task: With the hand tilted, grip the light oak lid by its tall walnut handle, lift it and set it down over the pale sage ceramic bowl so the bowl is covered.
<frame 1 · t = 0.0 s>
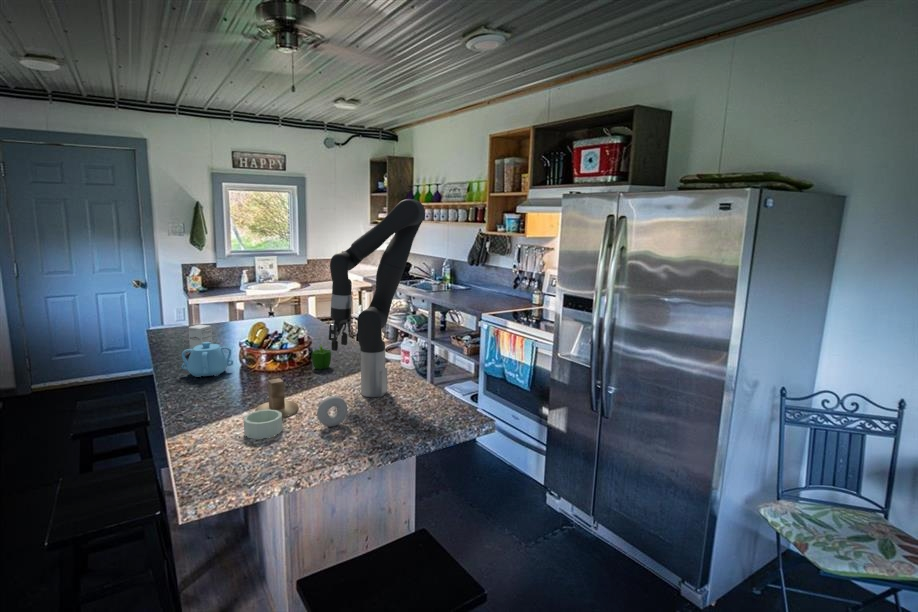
hand: (339, 347, 192), 17 cm above the kitchen island, tool pointing down, fingers open, 8 cm apart
donut: (332, 426, 163), on the kitchen island
decorative pot: (208, 374, 212), on the kitchen island
bell pepper: (322, 368, 222), on the kitchen island
bowl: (263, 431, 158), on the kitchen island
supplement box: (201, 352, 243), on the kitchen island
lid: (277, 411, 174), on the kitchen island
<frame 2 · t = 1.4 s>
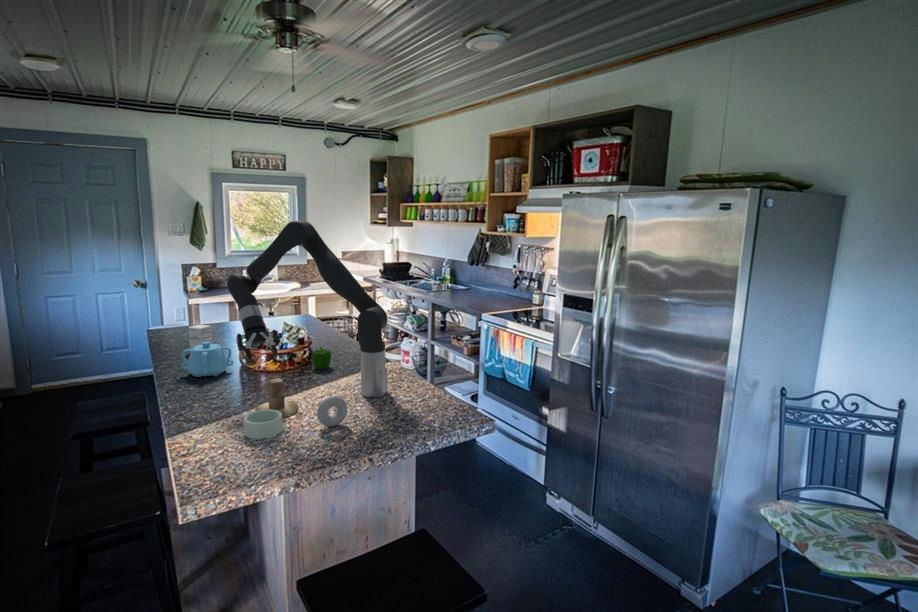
hand: (263, 357, 181), 16 cm above the kitchen island, tool tilted 45°, fingers open, 8 cm apart
nothing on the kitchen island moved.
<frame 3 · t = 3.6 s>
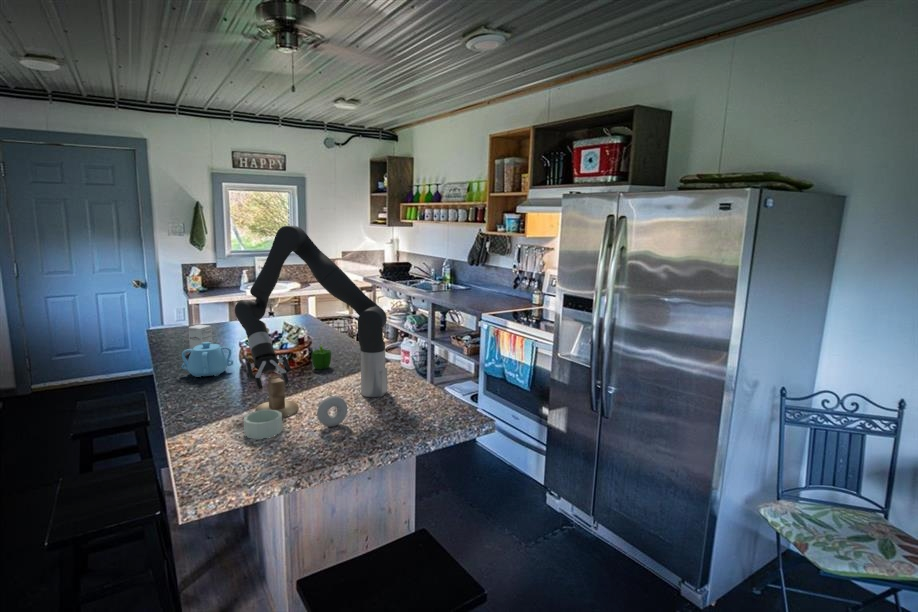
hand: (273, 386, 175), 8 cm above the kitchen island, tool tilted 45°, fingers open, 8 cm apart
nothing on the kitchen island moved.
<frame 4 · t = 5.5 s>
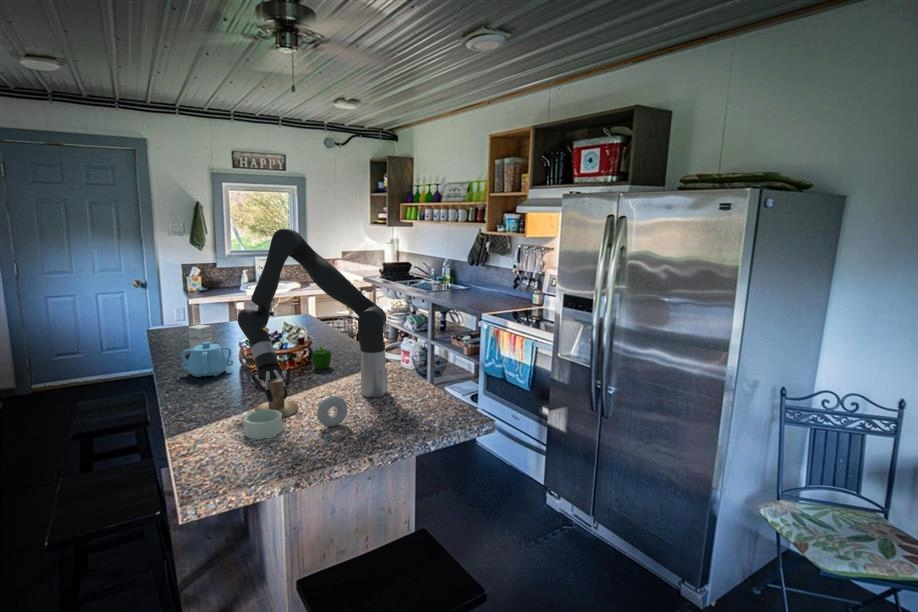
hand: (278, 399, 172), 5 cm above the kitchen island, tool tilted 45°, fingers closed on lid, 4 cm apart
lid: (276, 410, 174), on the kitchen island, touching gripper
everything else where it was.
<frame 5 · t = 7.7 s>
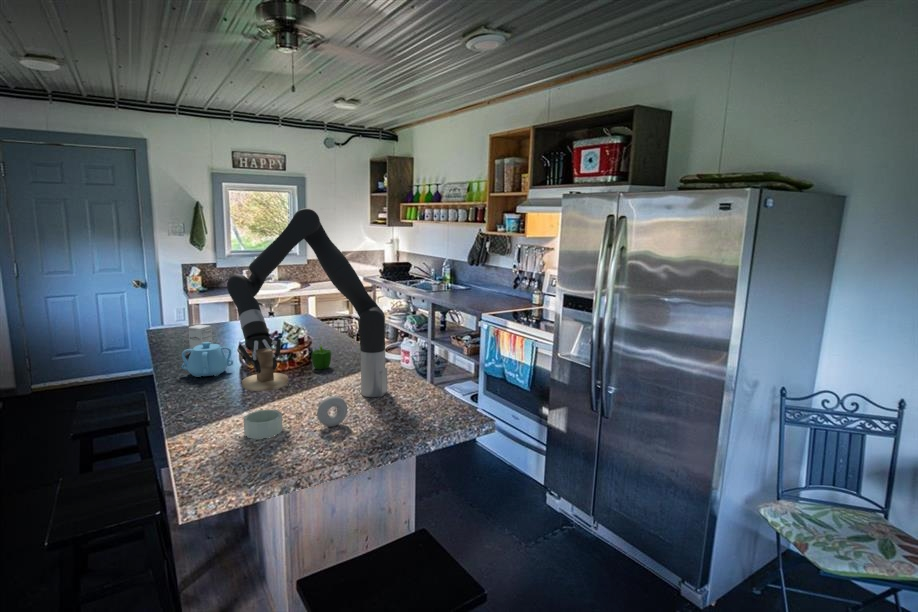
hand: (266, 370, 160), 18 cm above the kitchen island, tool tilted 45°, fingers closed on lid, 4 cm apart
lid: (265, 383, 163), point 13 cm above the kitchen island, touching gripper
everything else where it was.
when the fingers open (11 cm above the kitchen island, at t = 10.1 s): lid drops 1 cm, resting on bowl.
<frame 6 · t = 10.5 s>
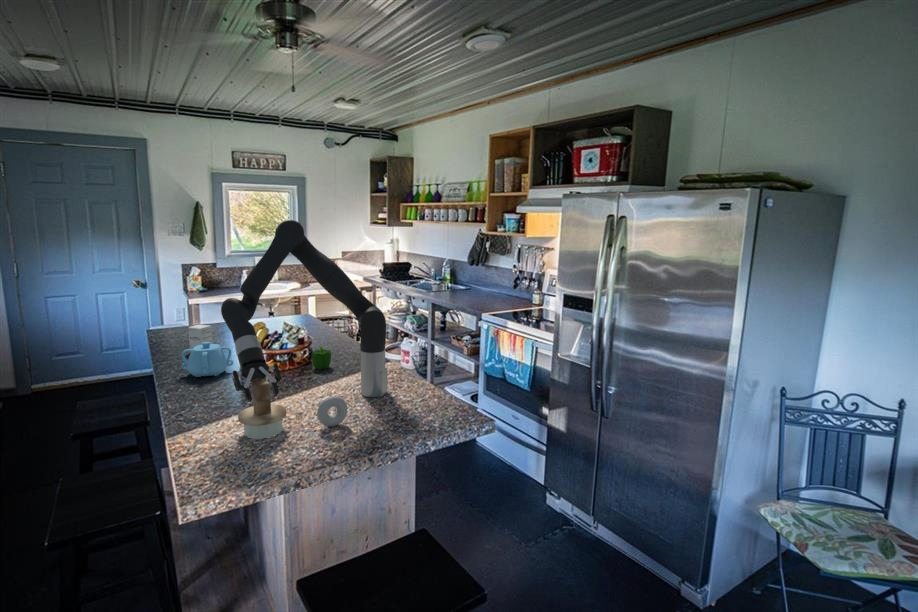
hand: (263, 397, 155), 12 cm above the kitchen island, tool tilted 45°, fingers open, 7 cm apart
lid: (262, 416, 157), point 5 cm above the kitchen island, touching bowl
everything else where it was.
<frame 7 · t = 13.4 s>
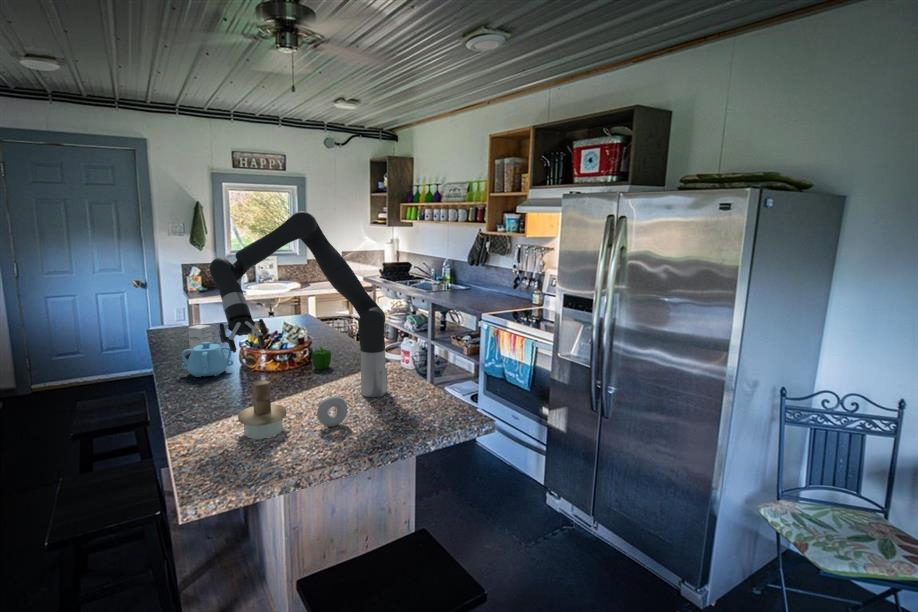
hand: (248, 349, 163), 24 cm above the kitchen island, tool tilted 45°, fingers open, 8 cm apart
nothing on the kitchen island moved.
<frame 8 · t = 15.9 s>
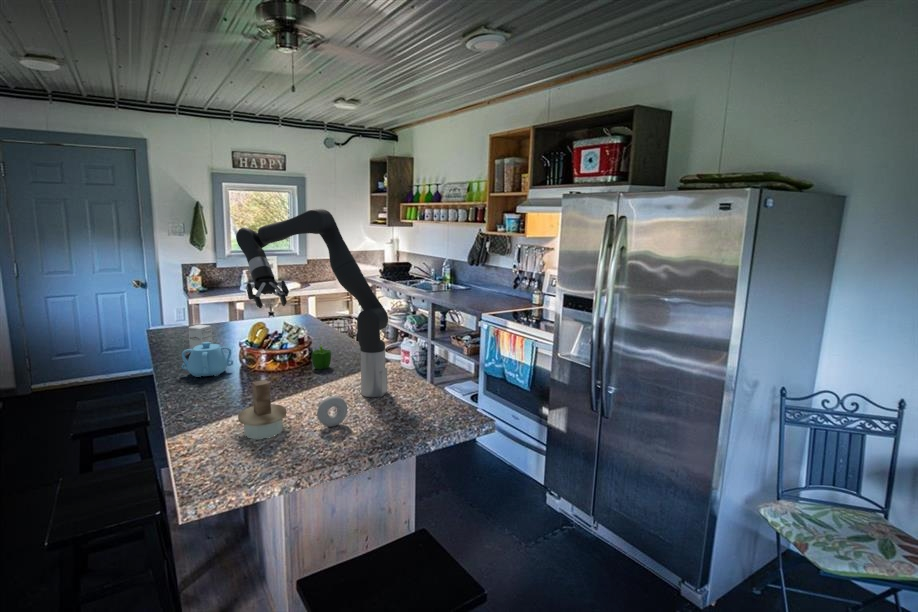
hand: (272, 305, 184), 34 cm above the kitchen island, tool tilted 45°, fingers open, 8 cm apart
nothing on the kitchen island moved.
at the end: lid 0.2 cm off-centre on the bowl, point 5.0 cm above the bowl's base; lid tilted 0°; lid touching bowl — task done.
